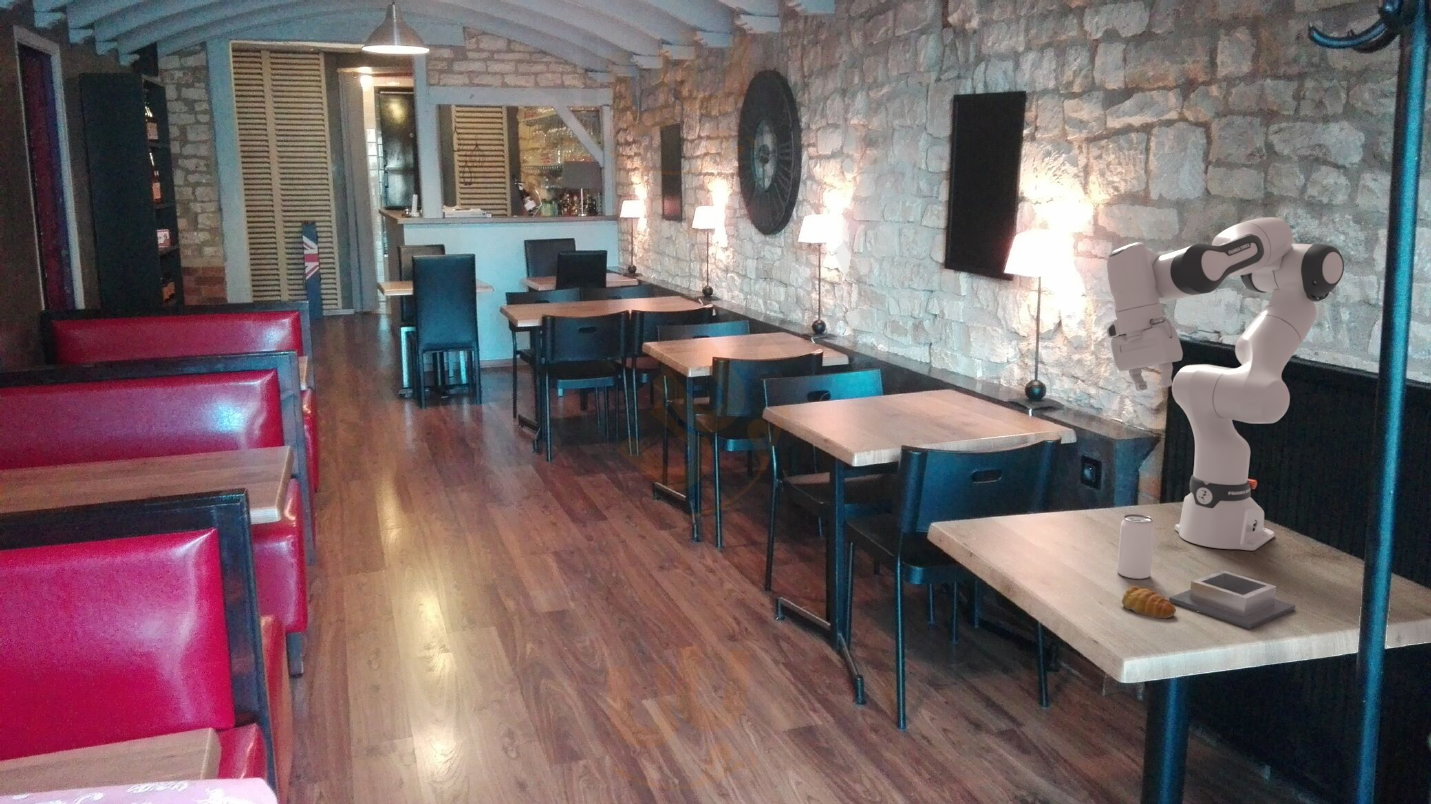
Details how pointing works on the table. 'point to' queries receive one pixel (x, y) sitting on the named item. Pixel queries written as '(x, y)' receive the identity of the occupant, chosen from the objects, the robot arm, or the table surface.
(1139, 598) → the pastry
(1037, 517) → the table surface
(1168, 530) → the table surface
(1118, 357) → the robot arm
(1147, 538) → the can
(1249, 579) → the collar
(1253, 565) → the table surface
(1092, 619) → the table surface
